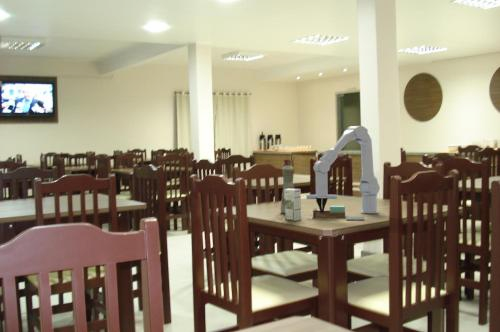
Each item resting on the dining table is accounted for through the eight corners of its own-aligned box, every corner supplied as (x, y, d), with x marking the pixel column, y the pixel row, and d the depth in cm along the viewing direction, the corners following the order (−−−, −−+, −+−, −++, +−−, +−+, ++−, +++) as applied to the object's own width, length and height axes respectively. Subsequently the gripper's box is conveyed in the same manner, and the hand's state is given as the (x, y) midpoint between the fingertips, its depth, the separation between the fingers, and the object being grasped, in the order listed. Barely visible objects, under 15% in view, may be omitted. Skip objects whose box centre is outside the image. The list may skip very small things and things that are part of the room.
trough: (314, 214, 265) (314, 207, 264) (345, 215, 262) (345, 207, 262) (313, 217, 256) (313, 210, 256) (345, 217, 254) (345, 210, 254)
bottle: (284, 211, 279) (283, 157, 278) (300, 212, 275) (299, 157, 274) (277, 213, 272) (276, 158, 270) (294, 214, 268) (293, 158, 266)
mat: (346, 217, 253) (346, 216, 253) (363, 217, 252) (363, 216, 252) (346, 220, 245) (346, 219, 245) (364, 220, 244) (364, 219, 244)
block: (330, 215, 261) (330, 205, 261) (344, 216, 260) (344, 205, 260) (330, 217, 257) (329, 206, 257) (344, 217, 256) (344, 206, 256)
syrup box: (301, 219, 251) (301, 188, 251) (294, 221, 247) (293, 189, 246) (291, 218, 255) (291, 187, 254) (284, 219, 251) (283, 188, 250)
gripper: (305, 186, 256) (306, 215, 257) (336, 186, 254) (337, 215, 254) (306, 185, 263) (307, 212, 264) (337, 185, 261) (337, 213, 261)
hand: (322, 213), depth 260 cm, fingers closed
